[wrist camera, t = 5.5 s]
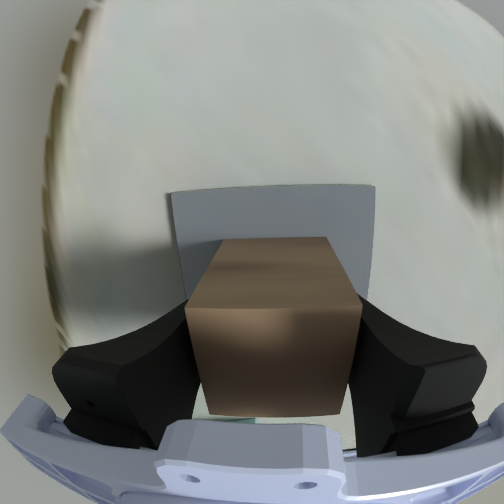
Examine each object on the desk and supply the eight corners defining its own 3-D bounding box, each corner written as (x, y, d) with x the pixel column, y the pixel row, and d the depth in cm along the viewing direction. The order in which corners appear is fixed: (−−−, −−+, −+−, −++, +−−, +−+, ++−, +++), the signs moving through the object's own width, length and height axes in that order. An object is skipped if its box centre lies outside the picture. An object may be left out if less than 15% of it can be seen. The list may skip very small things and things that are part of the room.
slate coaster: (355, 347, 16) (357, 353, 16) (200, 349, 17) (197, 355, 17) (371, 185, 13) (375, 186, 12) (175, 192, 14) (170, 193, 13)
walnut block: (321, 322, 15) (339, 414, 9) (232, 324, 15) (209, 414, 9) (326, 236, 13) (362, 304, 7) (224, 239, 14) (184, 307, 8)
